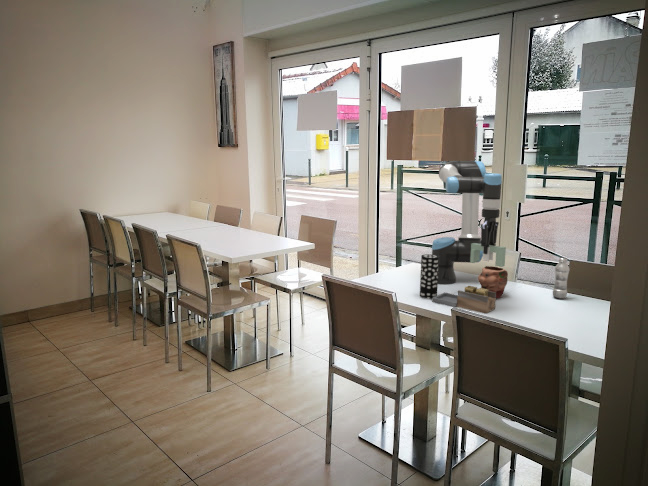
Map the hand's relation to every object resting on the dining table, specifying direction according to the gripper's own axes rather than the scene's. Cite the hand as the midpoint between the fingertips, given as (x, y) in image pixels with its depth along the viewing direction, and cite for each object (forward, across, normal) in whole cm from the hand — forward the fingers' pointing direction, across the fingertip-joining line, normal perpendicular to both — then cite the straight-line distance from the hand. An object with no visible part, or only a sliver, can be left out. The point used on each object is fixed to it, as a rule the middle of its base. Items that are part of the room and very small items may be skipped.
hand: (487, 260), depth 232 cm
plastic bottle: (+21, -37, +21) cm, 48 cm away
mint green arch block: (+2, 0, 0) cm, 2 cm away
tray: (+22, +5, -15) cm, 27 cm away
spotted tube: (+22, +4, -27) cm, 35 cm away
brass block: (+17, +4, -5) cm, 18 cm away
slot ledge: (+22, +4, -2) cm, 22 cm away
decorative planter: (+21, -20, -5) cm, 30 cm away
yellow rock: (+17, +4, 0) cm, 17 cm away
